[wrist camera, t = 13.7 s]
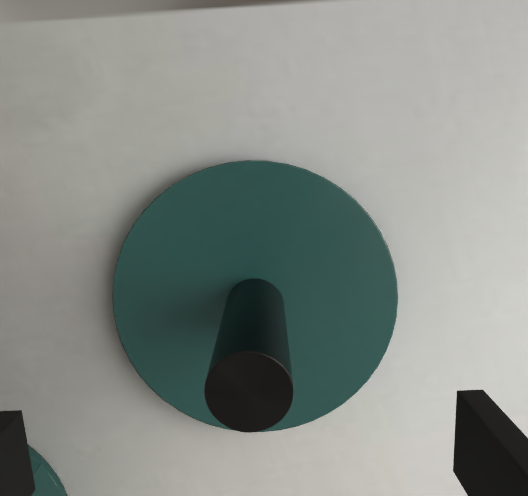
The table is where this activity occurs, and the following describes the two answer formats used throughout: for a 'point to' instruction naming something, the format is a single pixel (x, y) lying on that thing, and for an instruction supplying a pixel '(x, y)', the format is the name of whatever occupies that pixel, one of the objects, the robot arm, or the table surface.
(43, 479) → the tin
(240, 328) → the lid
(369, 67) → the table surface
